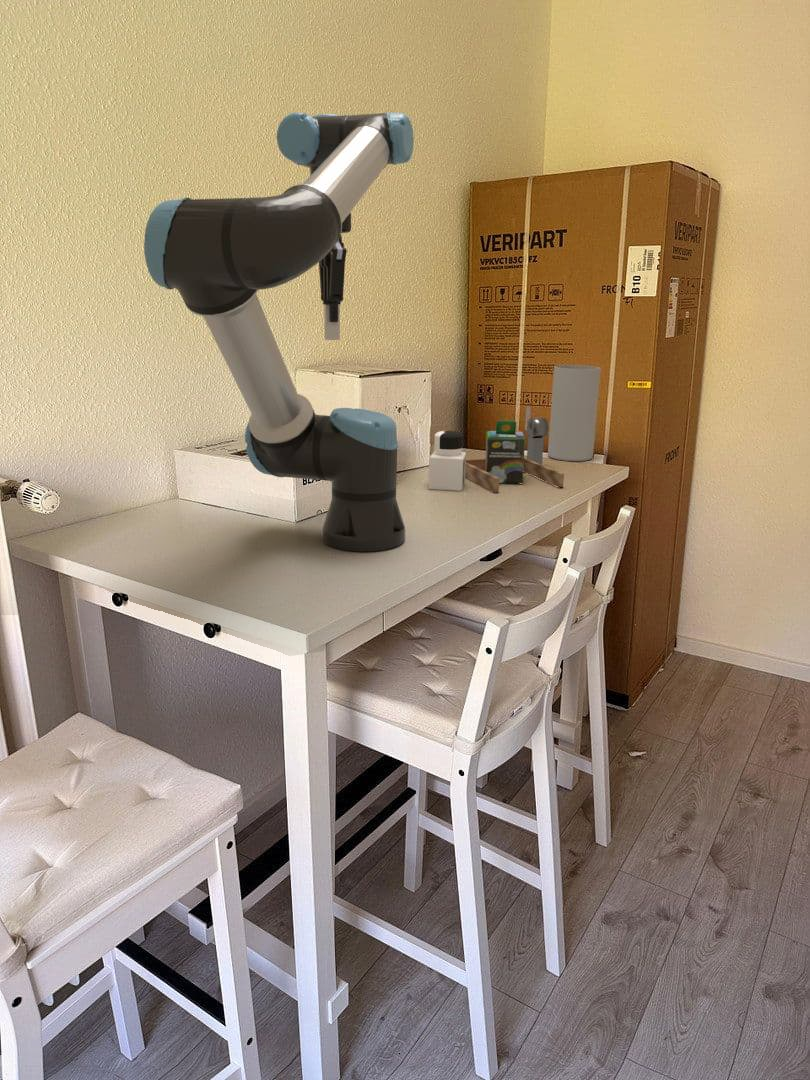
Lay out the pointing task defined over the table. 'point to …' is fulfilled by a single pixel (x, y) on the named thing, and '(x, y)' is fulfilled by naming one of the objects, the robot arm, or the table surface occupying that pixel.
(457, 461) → the container
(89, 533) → the table surface
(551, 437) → the cylinder vase
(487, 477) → the bay
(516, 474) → the chalk box
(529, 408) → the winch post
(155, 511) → the table surface
